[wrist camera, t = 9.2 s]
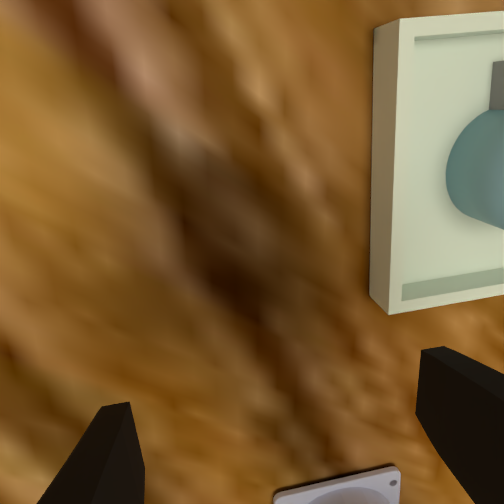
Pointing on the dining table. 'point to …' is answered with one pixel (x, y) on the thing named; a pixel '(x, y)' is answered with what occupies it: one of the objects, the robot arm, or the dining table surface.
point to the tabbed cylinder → (481, 160)
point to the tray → (429, 161)
